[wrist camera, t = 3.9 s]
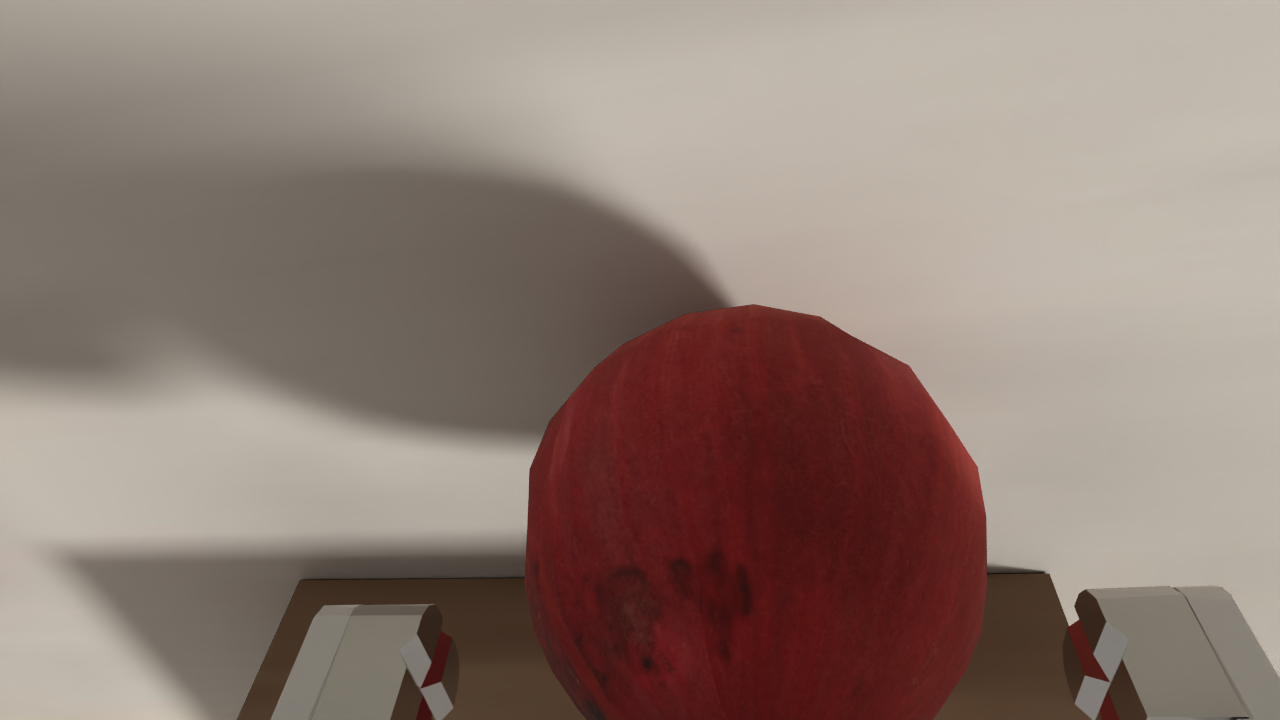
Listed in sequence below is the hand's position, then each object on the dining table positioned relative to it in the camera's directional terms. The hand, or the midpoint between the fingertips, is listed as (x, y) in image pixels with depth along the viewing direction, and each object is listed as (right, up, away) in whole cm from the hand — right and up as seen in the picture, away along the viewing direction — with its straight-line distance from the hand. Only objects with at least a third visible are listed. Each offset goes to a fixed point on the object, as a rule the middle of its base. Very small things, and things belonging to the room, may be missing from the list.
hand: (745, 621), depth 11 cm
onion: (0, +4, +3) cm, 5 cm away
